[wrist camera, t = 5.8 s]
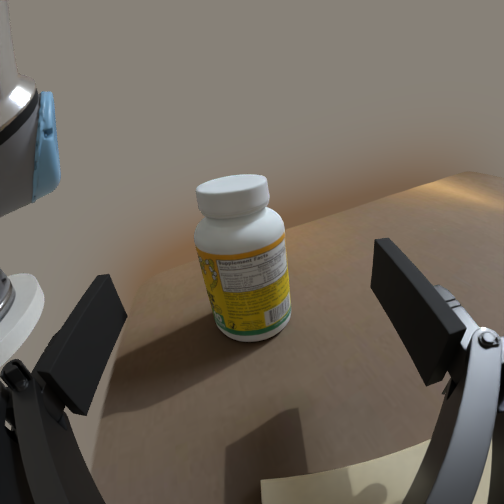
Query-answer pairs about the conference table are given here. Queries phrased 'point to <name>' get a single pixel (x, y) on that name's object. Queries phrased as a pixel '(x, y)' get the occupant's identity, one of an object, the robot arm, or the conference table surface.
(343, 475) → the sorting mat
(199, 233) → the supplement bottle
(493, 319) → the conference table surface
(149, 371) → the conference table surface
